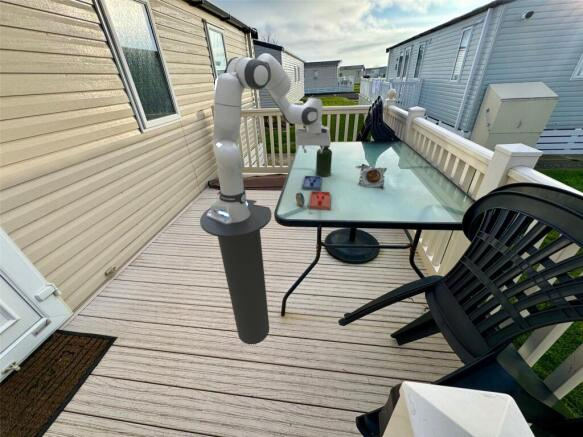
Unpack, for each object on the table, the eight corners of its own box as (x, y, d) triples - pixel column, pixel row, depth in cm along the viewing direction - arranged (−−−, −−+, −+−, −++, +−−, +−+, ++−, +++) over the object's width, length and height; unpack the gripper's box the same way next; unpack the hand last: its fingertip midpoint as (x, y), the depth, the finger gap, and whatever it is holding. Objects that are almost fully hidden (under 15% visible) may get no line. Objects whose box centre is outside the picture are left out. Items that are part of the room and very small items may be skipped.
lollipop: (308, 218, 129) (294, 199, 137) (310, 217, 129) (296, 199, 138) (311, 208, 124) (296, 190, 132) (313, 207, 124) (298, 189, 133)
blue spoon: (315, 187, 153) (315, 182, 152) (308, 187, 154) (308, 182, 152) (316, 179, 164) (316, 175, 163) (309, 179, 165) (309, 174, 163)
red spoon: (323, 206, 132) (324, 201, 130) (315, 205, 133) (315, 200, 131) (324, 195, 143) (324, 190, 141) (316, 195, 144) (317, 190, 142)
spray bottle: (313, 175, 172) (315, 139, 159) (318, 170, 180) (320, 135, 167) (327, 177, 168) (330, 140, 155) (332, 172, 176) (335, 137, 163)
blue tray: (320, 190, 151) (320, 187, 150) (302, 189, 152) (302, 186, 151) (321, 178, 166) (321, 176, 165) (304, 178, 168) (304, 175, 167)
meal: (383, 186, 155) (387, 166, 148) (382, 189, 151) (386, 168, 144) (359, 183, 159) (362, 163, 153) (358, 185, 156) (361, 166, 149)
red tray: (329, 209, 130) (330, 206, 129) (308, 208, 131) (308, 205, 130) (329, 194, 145) (330, 191, 144) (311, 194, 147) (311, 191, 146)
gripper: (295, 129, 138) (295, 153, 145) (331, 130, 136) (329, 154, 143) (296, 127, 143) (296, 150, 151) (331, 127, 141) (329, 151, 148)
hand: (313, 152), depth 147 cm, fingers open, 8 cm apart
